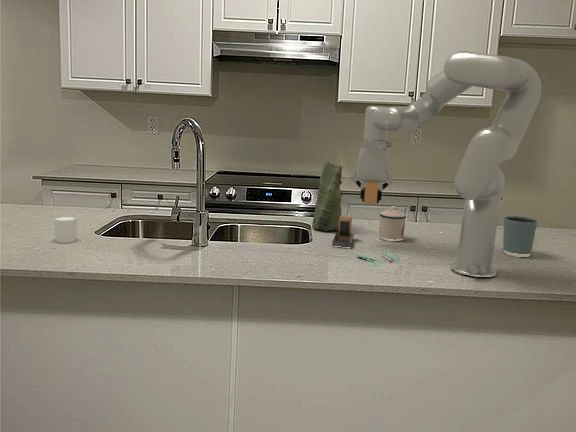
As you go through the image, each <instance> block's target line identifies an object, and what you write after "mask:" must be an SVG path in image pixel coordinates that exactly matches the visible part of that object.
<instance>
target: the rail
mask: <svg viewBox="0 0 576 432" xmlns="http://www.w3.org/2000/svg"><path fill="white" fill-rule="evenodd" d="M352 222H353V216H348V215H341V216H340V218H339V231H336V233H335V235H334V237H333V239H332V241H331V242H332V244H331V247H332V246H341V247H351V248H352V246H353V243H352V241H354V239H353V238H354V236H355V233H354V232H352ZM351 245H352V246H351Z"/></svg>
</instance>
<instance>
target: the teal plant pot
mask: <svg viewBox="0 0 576 432" xmlns="http://www.w3.org/2000/svg"><path fill="white" fill-rule="evenodd" d="M537 225H538V220H537V219H535V218H532V217H527V216H520V215H519V216H517V215H508V216H504V217H503V237H502V238H503V243H502V244H503V247H502V251H503V250H505V251H508V252H511V253H518V254H529V253H531V254H532V251H533V245H534V240H535V235H536V230H537Z"/></svg>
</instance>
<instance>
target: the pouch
mask: <svg viewBox="0 0 576 432" xmlns="http://www.w3.org/2000/svg"><path fill="white" fill-rule="evenodd" d="M321 170H322V171H321V174H320V178H319V187H318V190H317V191H318V192H317V198H316V202H315V207H314V208H315V209H314V213H313V220H312V225H311V228H312V229H313V230H317V231H325V232H329V231H338V230H339V218H340V216H342V208H341V202H342V199H341V197H343V189H341V188H340V187H341V185H342V183H343V182H342V175H343V174H342V171H343V166H342V165H341V164H340V165H337V164H335V162H333V163H331V162H329V161H325V162H324V164H323V167H322V169H321Z"/></svg>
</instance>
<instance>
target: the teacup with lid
mask: <svg viewBox="0 0 576 432" xmlns="http://www.w3.org/2000/svg"><path fill="white" fill-rule="evenodd" d="M397 208H398V207H397V206H395V205H392V206H390V208H388V209H386V210H383V211H381V212H380V213H379V216H380V217H379V226H378V227H379V229H378V237H379V236H380V237H382V238H386V239H394V240H396V239H403V238H405V226H406V218H407V215H406V213H405V212H402V211H400V210H399V209H397ZM403 240H404V239H403Z"/></svg>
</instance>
